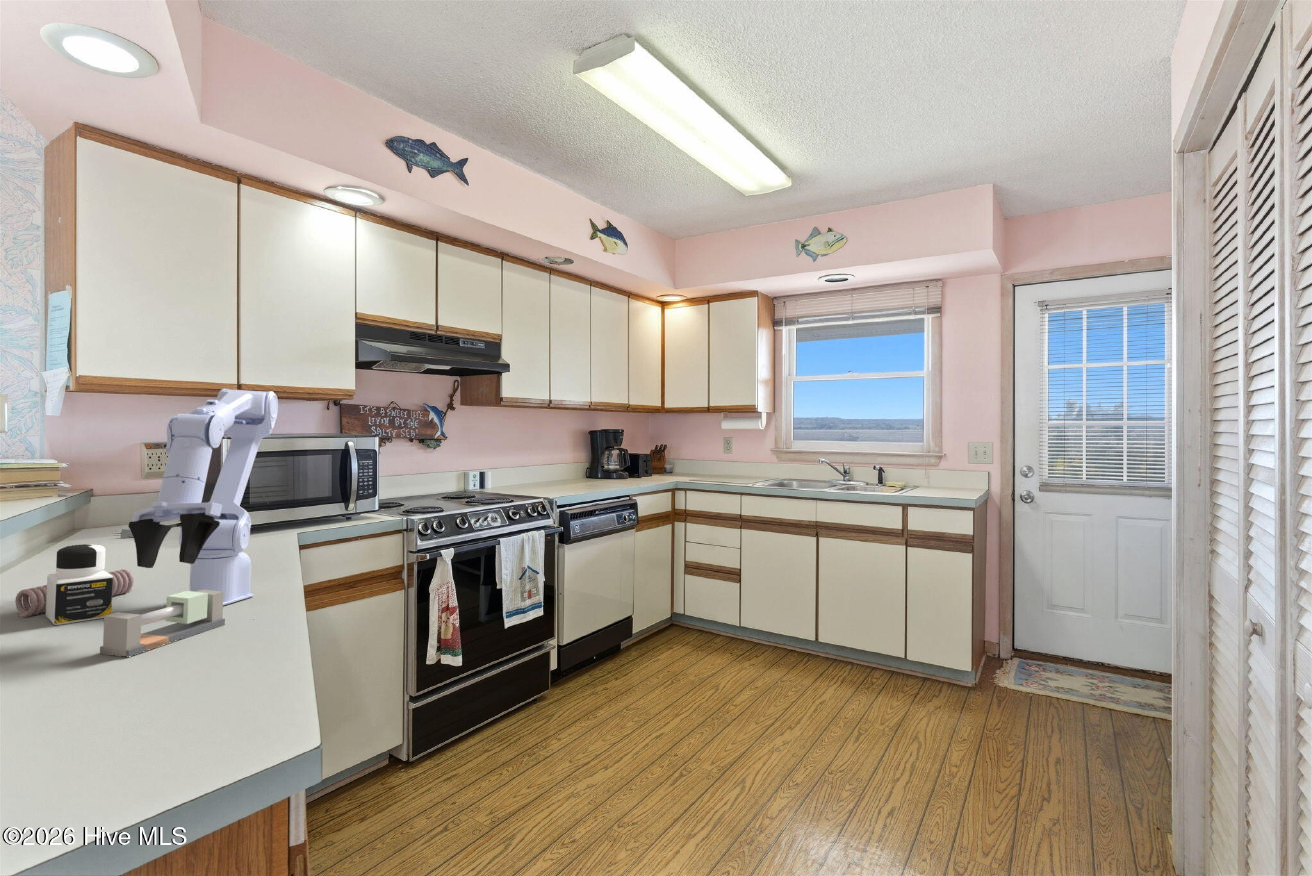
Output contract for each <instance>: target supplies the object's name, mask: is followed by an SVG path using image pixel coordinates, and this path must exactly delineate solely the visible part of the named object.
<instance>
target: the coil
mask: <svg viewBox="0 0 1312 876" xmlns="http://www.w3.org/2000/svg"><path fill="white" fill-rule="evenodd" d="M108 573H109V574H110V575H112V576H113V591H112V597H116V596H121V595H122V594H125V595H126V594H127V593H132V591H133V589H132V588H133V586H134V580H135V579H134V576H133V574H132V572H131V571H130V570H128V569H120V570H114V571H109V572H108ZM46 597H47V584H44V585H42V586H41V585H40V586H35V587H30V588H25V589H21V590H20V591H19V592H18V593H17V594H16V596H15V601H14V602H15V607H16V609H17V611H18V612H19V614H18V618H29V617H30V616H31V617H33V616H36V615H42V614H44V613H46Z"/></svg>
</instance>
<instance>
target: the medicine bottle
mask: <svg viewBox="0 0 1312 876" xmlns="http://www.w3.org/2000/svg"><path fill="white" fill-rule="evenodd" d="M55 563H56V566H55V567H56V568H55V572H56V573H50V574H48V575H47V579H46V585H47V597H46V612H45V617H47V619H48V620H49V621H50V622H51V623H52V624H53V625H54V626H61V625H67V624H74V623H81V622H87V621H93V620H99V619H104V616H106V615H110V614H113V611H112V610H113V609H112V608H113V596H112V591H113V576H112V575H110V574H109V572H107V570H104V569H105V568H106V548H105V546H103V545H99V544H93V543H91V544H90V543H88V544H87V543H86V544H85V543H84V544H72V545H67V546H63V547H62V548H59V549H58V550H57V551H56V561H55Z"/></svg>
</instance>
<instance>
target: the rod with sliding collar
mask: <svg viewBox="0 0 1312 876" xmlns="http://www.w3.org/2000/svg"><path fill="white" fill-rule="evenodd" d="M196 592H202V593H208V604H207V618H204V619H201V620H198V621H194V622H191V623H188V624H185V623H176V622H174V623H171V624H169V625H166V626H165V625H164V626H163V627H159V628H156V629H152V630H149V631H147V632H144V633H143V632H142V633H141V631H142V626H145V625H149V624H152V623H155V622H159V621H162V620H166V618H169V617H173V616H176V615H179V614H183V612H184V603H181V604H178V605H174V606H171V607H167V608H166V607H164V608H161V609H157V610H153V611H150V612H149V611H148V612H146V613H143V614H139V613H138V614H137V613H126V612H119V611H118V612H114V613H111V614H110V615H106V616H104V618H103V639H102V646H100V647H99V654H100V655H107V656H113V655H115V656H114V657H121V656H128V657H129V656H132V657H134V656H133V655H135V656H137V655H136V654H137V653H141V652H143V651H147V650H148V649H152V648H155V649H157V648H156V647H158V646H161V645H163V644H167V643H169V642H173V641H175V640H179V639H181V640H185V639H187V638H190V637H193V636H195V635H199V634H201V633H204V632H208V631H210V630H212V629H216V628H219V627H222V626H225V623H226V618H224V617H223V613H224V612H223V610H224V605H223V593H224V592H221V591H212V590H200V591H196ZM207 630H208V631H207ZM198 633H199V634H198ZM192 635H193V636H192ZM186 637H187V638H186ZM179 641H180V640H179ZM173 643H174V642H173ZM167 645H168V644H167ZM161 647H162V646H161ZM158 648H159V647H158ZM152 650H153V649H152ZM147 652H148V651H147ZM141 654H142V653H141ZM128 657H127V658H128ZM129 658H130V657H129Z"/></svg>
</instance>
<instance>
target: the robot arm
mask: <svg viewBox="0 0 1312 876" xmlns="http://www.w3.org/2000/svg"><path fill="white" fill-rule="evenodd" d="M278 410H279V400H278V396H277V394H276V393H275V392H274V391H270V390H269V391H260V390H257V391H256V390H247V389H246V390H245V389H244V390H242V389H229V388H222V389H221V390H219V392H218V394H217V396H216V399H207V400H206V401H205V403H204V404H202V405H200V406H199V407H196V408H195V409H194V410H192V411H191V412H190V413H178V414H177V415H175V416H172V417H171V418H170V420H169V421H168V423H167V425H166V438H167V439H166V441H167V442H166V445H165V451H166V453H167V454H168V455H167V459H166V464H165V468H164V473H163V477H162V480H161V485H160V489H159V494H158V498H157V501H153V502H151V505H150V506H149V507H147V508H144V509H141V510H135V511H134V512H133V517H132V521H129V522H128V525H127V527H128V529H129V530H130V531H131V534H132V537H133V539H134V540H133V541H134V544H135V550H136V564H137V567H138V568H139V567H140V568H146V569H154V566H155V564H156V562H157V559H158V554H159V551H160V549H161V546H162V544H163V542H164V540H165V538H166V536H167V535H168V534H169V532H170V531H171V529H172V526H170V525H166V524H162V522H170V521H180V531H179V534H178V535H179V536H178V543H179V547H180V549H179V554H178V555H179V556H178V558H179V560H178V561H179V563H183V564H189V565H190V567H189V590H188V591H193V592H196V591H200V590H212V591H221V592H224V593H223V606H226V605H229V604H232V603H236V602H239V601H242V600H246V599H249V598H252V597H254V595H255V593H251V583H252V582H251V580H252V561H251V558H250V557H249V555H248V554H247V553H246V552H244V551H245V549H246V548H247V547H248V545H249V541H250V537H251V528H252V527H251V526H252V519H251V515H250V514H249V512H248V511H247V510H246V509H245V508H243V507H241V506H240V505H241V503H242V500H243V497H244V493H245V492H246V491H245V490H246V487H247V485H248V481H249V478H250V475H251V472H252V468H253V465H254V462H255V460H256V456H257V453H258V451H259V447H260V444H261V442H262V439H264V438H266V437H268V436H271V434H272V432H273V429H274V427H275V424H276V421H277V417H278V412H279V411H278ZM224 435H227V436H228V437H230V439H231V442H230V445H229V447H228V450H227V452H226V455H225V458H224V461H223V463H222V467H221V469H220V472H219V475H218V477H217V481H216V482H215V486H214V489H213V492H212V494H211V496H210V497H211V498H210V500H209V501H208V502H203V497H204V491H205V487H206V483H207V479H208V472H209V468H210V462H211V458H212V453H213V449H217V448H219V446H220V445H221V442H222V439H223V437H224Z"/></svg>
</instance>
